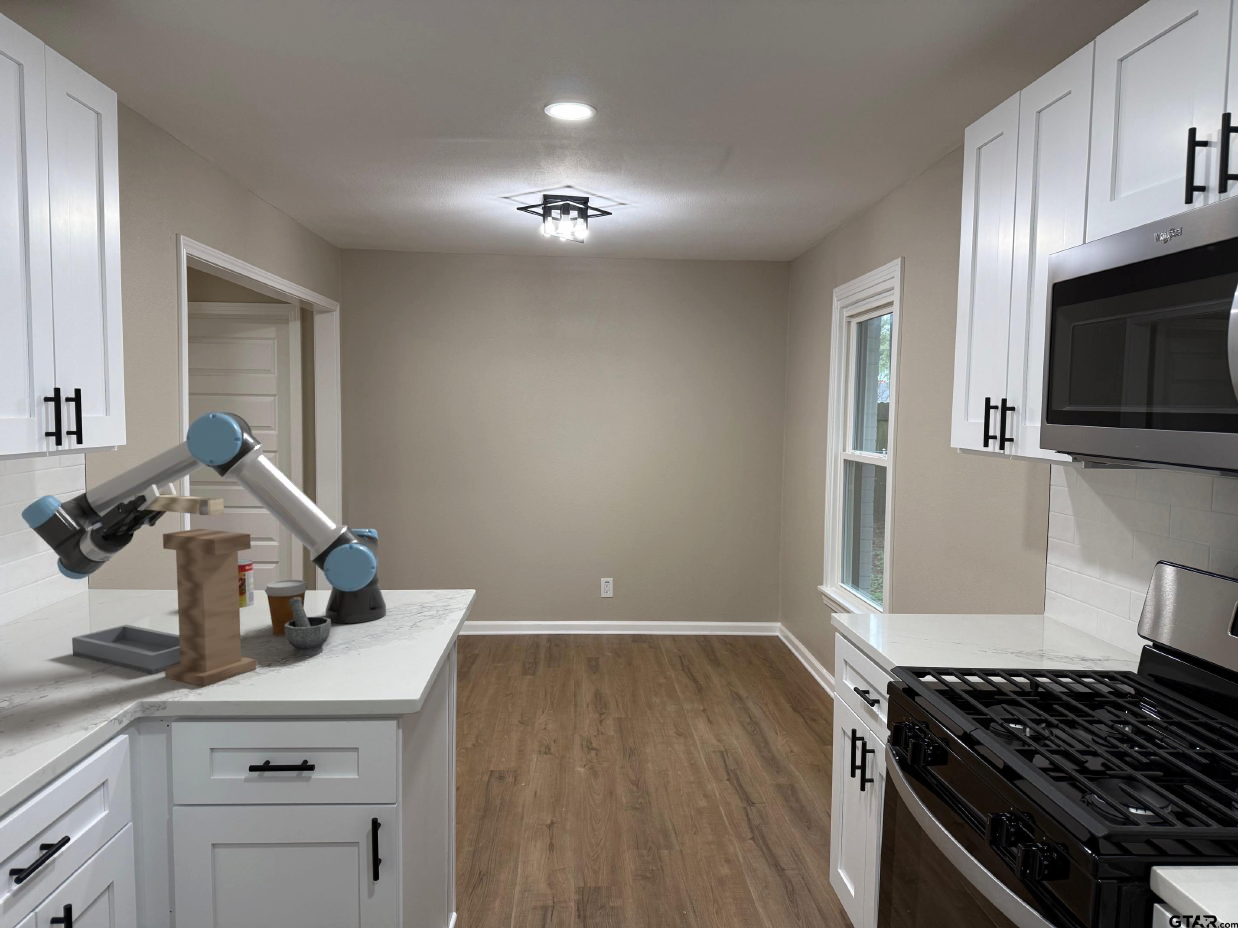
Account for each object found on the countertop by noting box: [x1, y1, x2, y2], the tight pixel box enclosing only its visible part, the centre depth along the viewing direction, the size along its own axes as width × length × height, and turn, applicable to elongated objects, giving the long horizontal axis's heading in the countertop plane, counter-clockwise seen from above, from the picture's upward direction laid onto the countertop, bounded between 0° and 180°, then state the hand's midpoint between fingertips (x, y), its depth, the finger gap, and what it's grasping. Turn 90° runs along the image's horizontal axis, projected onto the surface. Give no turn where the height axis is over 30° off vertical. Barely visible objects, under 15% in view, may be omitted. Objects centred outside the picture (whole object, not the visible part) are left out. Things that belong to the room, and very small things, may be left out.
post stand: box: [162, 528, 257, 688], centre depth 166 cm, size 16×12×29 cm
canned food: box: [238, 558, 255, 609], centre depth 224 cm, size 8×8×12 cm
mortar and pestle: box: [284, 597, 332, 657], centre depth 181 cm, size 11×9×12 cm
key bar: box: [135, 494, 225, 516], centre depth 167 cm, size 24×4×3 cm, turn 63°
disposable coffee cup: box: [264, 579, 308, 636], centre depth 197 cm, size 10×10×12 cm
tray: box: [71, 624, 180, 675], centre depth 177 cm, size 28×12×4 cm, turn 63°
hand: (164, 489), depth 169 cm, fingers closed on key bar, 3 cm apart
